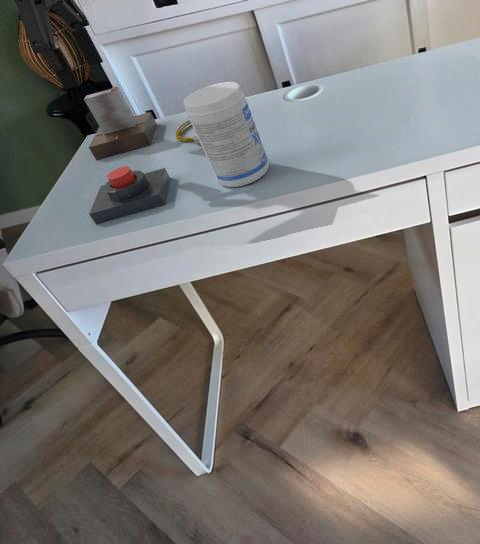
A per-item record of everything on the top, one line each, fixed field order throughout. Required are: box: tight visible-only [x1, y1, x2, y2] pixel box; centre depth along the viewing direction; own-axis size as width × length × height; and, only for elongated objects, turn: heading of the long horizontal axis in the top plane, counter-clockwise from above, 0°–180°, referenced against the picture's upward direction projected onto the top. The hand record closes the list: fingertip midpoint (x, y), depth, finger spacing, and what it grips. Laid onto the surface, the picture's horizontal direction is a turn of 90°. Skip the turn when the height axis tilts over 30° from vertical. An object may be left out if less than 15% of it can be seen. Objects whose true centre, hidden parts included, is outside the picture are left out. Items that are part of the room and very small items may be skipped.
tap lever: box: [83, 85, 137, 135], centre depth 104 cm, size 7×2×8 cm, turn 102°
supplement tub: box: [182, 81, 270, 188], centre depth 81 cm, size 10×10×15 cm
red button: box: [106, 166, 136, 188], centre depth 84 cm, size 4×4×2 cm
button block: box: [88, 167, 171, 225], centre depth 85 cm, size 12×10×4 cm
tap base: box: [88, 111, 157, 161], centre depth 108 cm, size 12×12×3 cm
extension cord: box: [175, 120, 201, 146], centre depth 103 cm, size 12×16×2 cm
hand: (85, 74), depth 93 cm, fingers open, 13 cm apart
